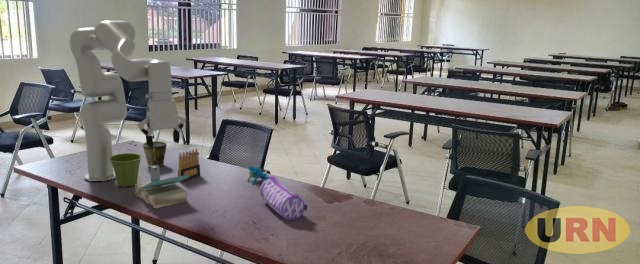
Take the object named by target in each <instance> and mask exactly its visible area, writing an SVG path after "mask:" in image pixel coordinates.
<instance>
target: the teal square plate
mask: <svg viewBox="0 0 640 264" xmlns="http://www.w3.org/2000/svg"><path fill="white" fill-rule="evenodd" d="M186 178H189V177H188V175H184V176H179V177H178V176H175V177H169V178H163V179H164V180H158V181H153V182H151V183H149V184H147V185H145V186H143V187H141V188H142V190H145V189H150V188H155V187H160V186H165V185H170V184H177V183H181V182H180V181H182V180H184V179H186Z"/></svg>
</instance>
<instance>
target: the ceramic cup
mask: <svg viewBox="0 0 640 264" xmlns="http://www.w3.org/2000/svg"><path fill="white" fill-rule="evenodd" d="M167 144H168V143H167V142H165V141H160V140H159V141H158V140H155V141H153V147H149V146H148V145H147V144H146V142H144V143H143V144H142V147H143V152H144V156H145V158H146V162H147V167H148V166H149V168H150V167H151V166H155V165H157V166H159V168H161V167H160V166H162V167H164V164H165V163H164V162H165V155H166V151H167Z"/></svg>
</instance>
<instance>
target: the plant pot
mask: <svg viewBox="0 0 640 264" xmlns="http://www.w3.org/2000/svg"><path fill="white" fill-rule="evenodd" d="M142 158H143V156H142V155H141V154H139V153H129V152H125V153H124V152H123V153H118V154H115V155H113V156H111V157H110V160H111V162H112V165H113V170H114V172H115V176H116V178H115V180H116V184H117V186H118V185H119V187H120V186H122V187H121V188H124V187H125V188H126V187H127V186H131V187H134V186H133V185H135V184H138V179H139V177H138V176H139V170H140V164H141V160H142ZM127 188H128V187H127Z"/></svg>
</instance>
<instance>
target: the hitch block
mask: <svg viewBox="0 0 640 264" xmlns="http://www.w3.org/2000/svg"><path fill="white" fill-rule="evenodd" d="M164 179H165V178H160V180H164ZM149 183H151V180H150V181H145V182H141V183H137V184H135V186H134V195H135V194H136V195H135V196H137V195H138V196H139V197H140V199H141V198H142V199H143V200H142V199H141V200H142V201H144V202H145V201H146V204H148V203H149V204H150V205H149V204H148V205H149V206H151V207H152V206H153V207H152V208H153V209H155V208H156V209H160V208H163V207H164V208H165V207H168V206H173V205H177V204H180V203H181V204H183V203H186V202H188V195H187V193H188V192H187V191H188V190H186V189H185V188H183V187H181V186H179V185H177V183H175V184H170V185H165V186H160V187H155V188H150V189H145V190H142V188H141V187H143V186H145V185H147V184H149ZM138 196H137V197H138ZM139 197H138V198H139Z"/></svg>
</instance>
